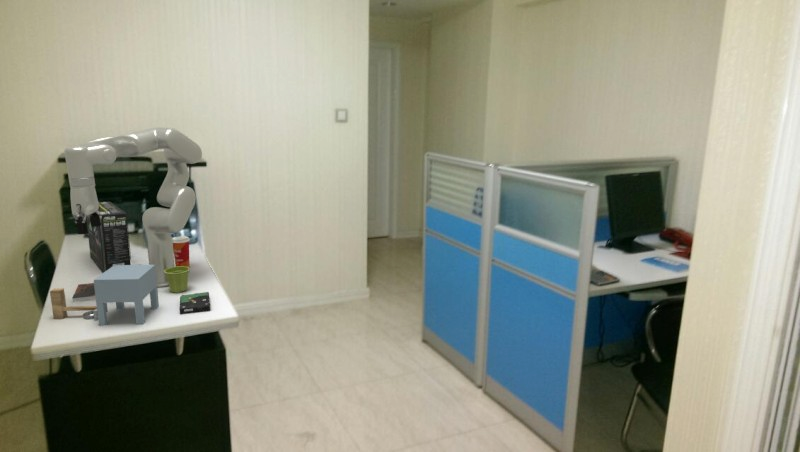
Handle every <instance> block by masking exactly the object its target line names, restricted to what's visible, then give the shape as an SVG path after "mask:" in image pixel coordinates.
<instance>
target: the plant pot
mask: <svg viewBox="0 0 800 452" xmlns="http://www.w3.org/2000/svg"><path fill="white" fill-rule="evenodd" d="M164 273H166V276H167V279H168V283H169V286H168V287H169V290H170V292H172V293H174V294H175V293H176V294H178V293H183V292H186V291H187V290H188V279H189V278H188V277H189V274H190V266H189V267H186V266H177V267H176V266H175V267H171V268H168V269H166V270H164Z"/></svg>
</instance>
